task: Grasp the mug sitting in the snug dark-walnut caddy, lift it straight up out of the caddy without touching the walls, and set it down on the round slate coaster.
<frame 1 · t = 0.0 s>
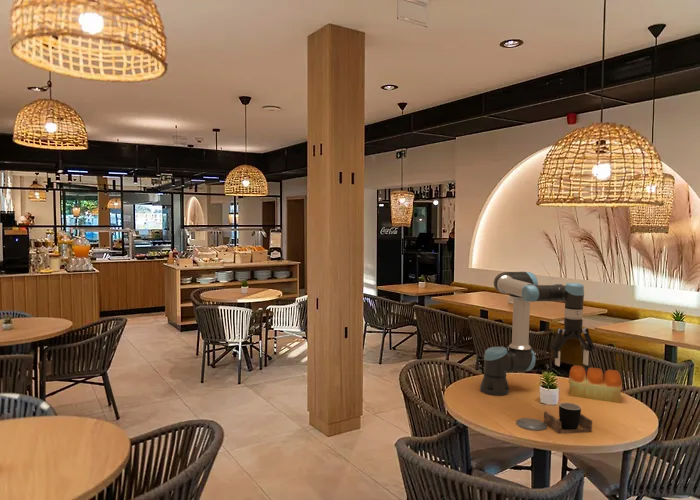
hand: (571, 365, 232), 28 cm above the table, fingers open, 13 cm apart
mug: (567, 427, 233), resting in caddy
coaster: (531, 424, 234), on the table
bread: (594, 396, 275), on the table
caddy: (567, 426, 233), on the table
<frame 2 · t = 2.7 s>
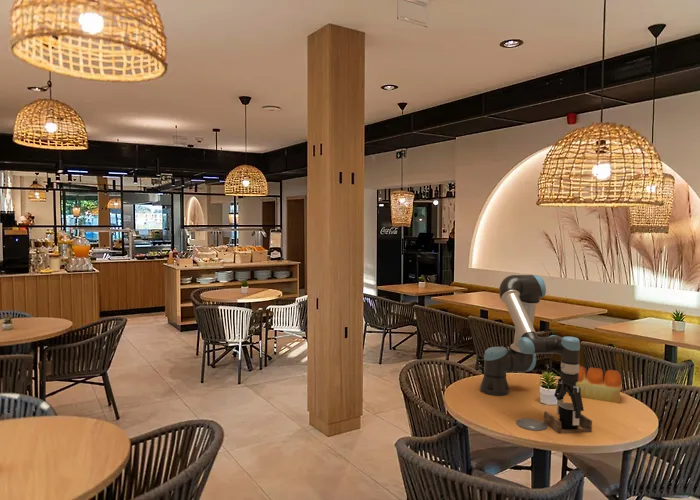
hand: (567, 419, 232), 3 cm above the table, fingers closed on mug, 12 cm apart
mug: (567, 427, 233), resting in caddy, touching gripper
everything else where it was.
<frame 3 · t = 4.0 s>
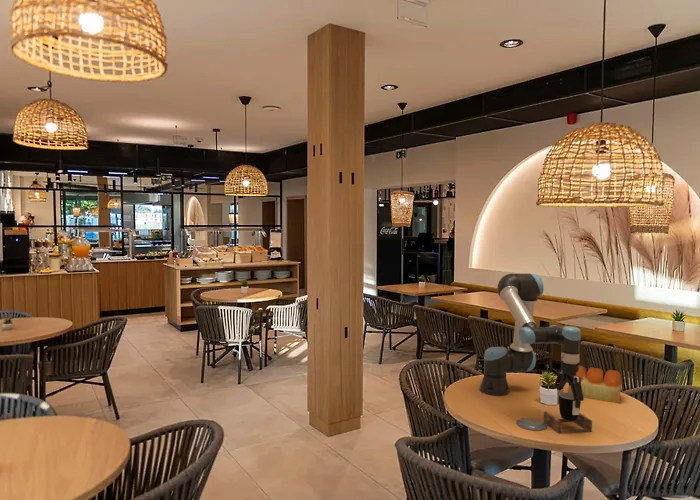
hand: (567, 409, 232), 8 cm above the table, fingers closed on mug, 12 cm apart
mug: (567, 417, 233), point 4 cm above the table, touching gripper
everything else where it was.
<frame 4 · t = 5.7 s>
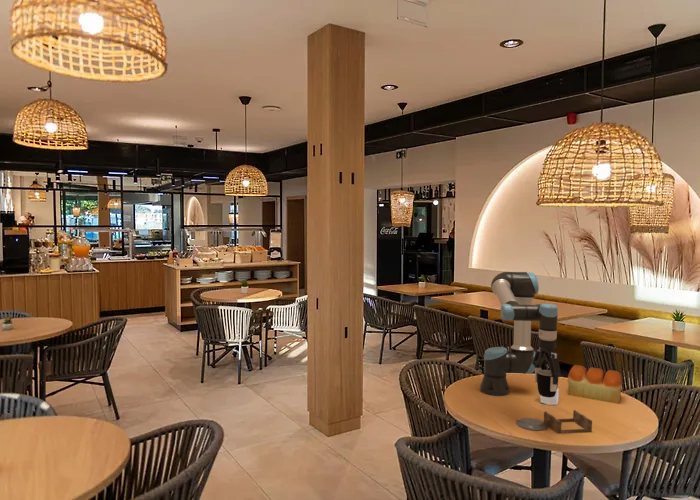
hand: (545, 386, 233), 18 cm above the table, fingers closed on mug, 12 cm apart
mug: (545, 394, 233), point 14 cm above the table, touching gripper
everything else where it was.
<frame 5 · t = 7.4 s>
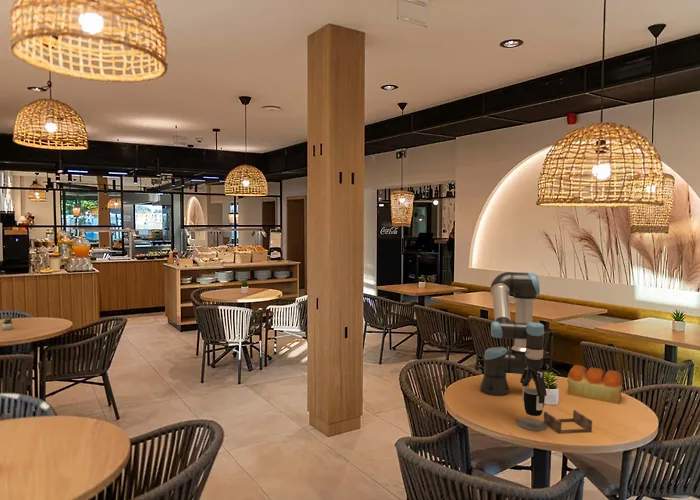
hand: (532, 405, 234), 9 cm above the table, fingers closed on mug, 12 cm apart
mug: (531, 412, 234), point 6 cm above the table, touching gripper
when the fingers open (5 cm above the table, at t = 8.7 s): mug drops 1 cm, resting on coaster.
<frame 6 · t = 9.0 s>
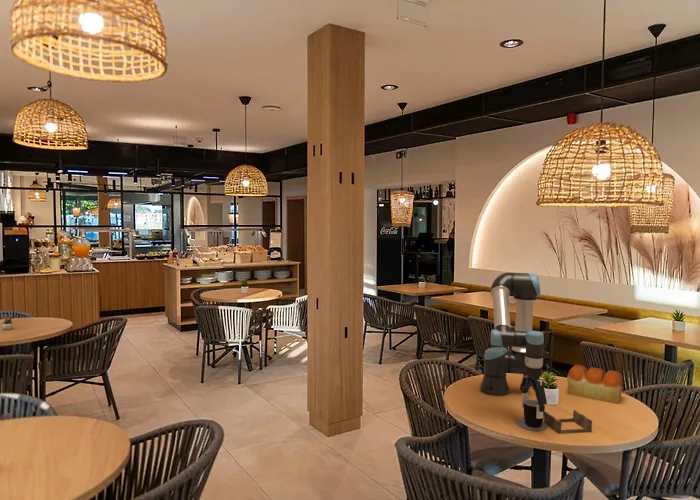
hand: (531, 412, 234), 6 cm above the table, fingers open, 13 cm apart
mug: (531, 424, 234), resting on coaster
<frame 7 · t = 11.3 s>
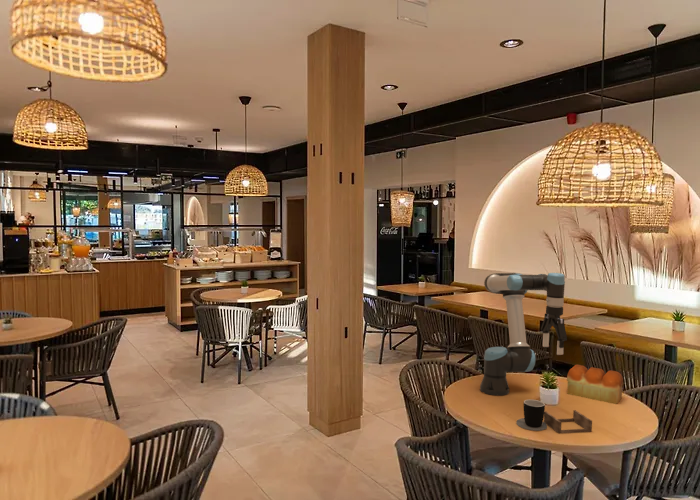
hand: (552, 350, 245), 31 cm above the table, fingers open, 13 cm apart
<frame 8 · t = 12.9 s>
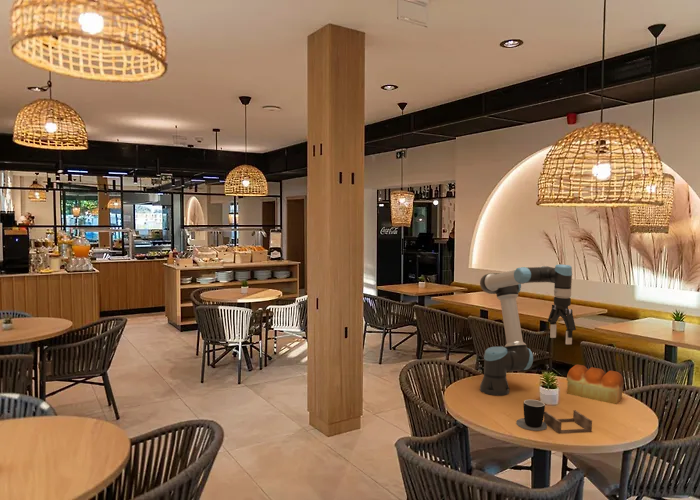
hand: (560, 340, 249), 35 cm above the table, fingers open, 13 cm apart
at the end: mug inside the target area on the coaster (0.2 cm from its centre), point 0.4 cm above the coaster's base; mug tilted 0°; mug touching coaster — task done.
